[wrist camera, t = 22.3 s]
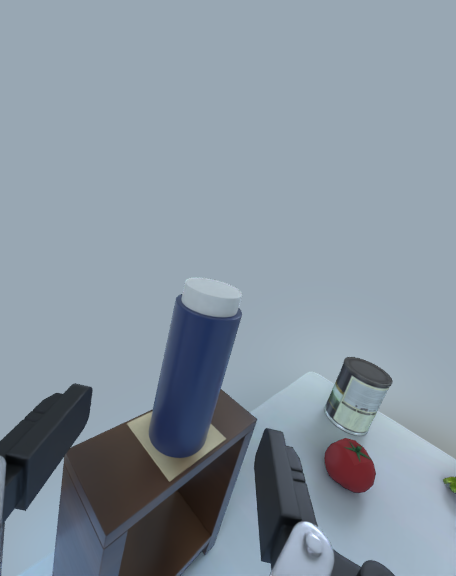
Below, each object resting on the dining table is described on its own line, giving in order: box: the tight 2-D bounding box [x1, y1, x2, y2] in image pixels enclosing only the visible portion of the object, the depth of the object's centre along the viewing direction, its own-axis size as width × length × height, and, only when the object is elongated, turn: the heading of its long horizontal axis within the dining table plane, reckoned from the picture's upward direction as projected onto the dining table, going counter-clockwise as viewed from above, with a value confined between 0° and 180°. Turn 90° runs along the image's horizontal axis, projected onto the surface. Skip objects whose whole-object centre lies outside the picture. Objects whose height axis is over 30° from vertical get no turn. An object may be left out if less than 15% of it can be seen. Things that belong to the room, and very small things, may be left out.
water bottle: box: [149, 277, 242, 458], centre depth 22 cm, size 5×5×14 cm
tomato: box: [324, 438, 376, 493], centre depth 46 cm, size 8×8×7 cm
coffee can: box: [325, 357, 392, 436], centre depth 61 cm, size 10×10×14 cm
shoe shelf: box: [52, 389, 257, 576], centre depth 26 cm, size 16×7×20 cm, turn 138°
